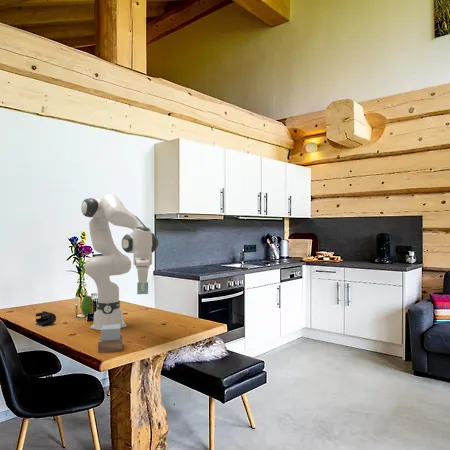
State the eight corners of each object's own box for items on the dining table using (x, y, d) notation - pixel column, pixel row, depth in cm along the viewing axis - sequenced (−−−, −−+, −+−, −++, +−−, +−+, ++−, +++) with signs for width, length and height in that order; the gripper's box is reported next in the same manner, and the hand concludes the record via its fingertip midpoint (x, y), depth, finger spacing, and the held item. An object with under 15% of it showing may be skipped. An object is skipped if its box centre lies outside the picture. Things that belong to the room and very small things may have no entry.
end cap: (56, 324, 221) (56, 312, 221) (43, 327, 215) (43, 314, 215) (47, 321, 227) (47, 310, 227) (35, 324, 221) (35, 312, 222)
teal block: (137, 292, 190) (137, 282, 190) (147, 292, 191) (147, 281, 191) (137, 294, 185) (137, 283, 185) (148, 294, 186) (148, 283, 186)
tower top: (102, 336, 180) (102, 325, 180) (120, 334, 182) (120, 324, 182) (101, 341, 173) (101, 329, 173) (120, 339, 175) (120, 328, 175)
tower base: (100, 346, 181) (100, 335, 181) (122, 345, 183) (122, 334, 183) (98, 353, 171) (98, 341, 171) (121, 351, 174) (121, 340, 174)
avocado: (78, 316, 242) (78, 296, 242) (85, 313, 249) (85, 294, 249) (90, 316, 240) (90, 296, 240) (96, 313, 248) (96, 294, 248)
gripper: (136, 259, 198) (136, 286, 198) (135, 262, 178) (135, 293, 178) (149, 258, 199) (148, 286, 199) (149, 262, 179) (149, 293, 179)
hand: (142, 289), depth 188 cm, fingers closed on teal block, 5 cm apart
